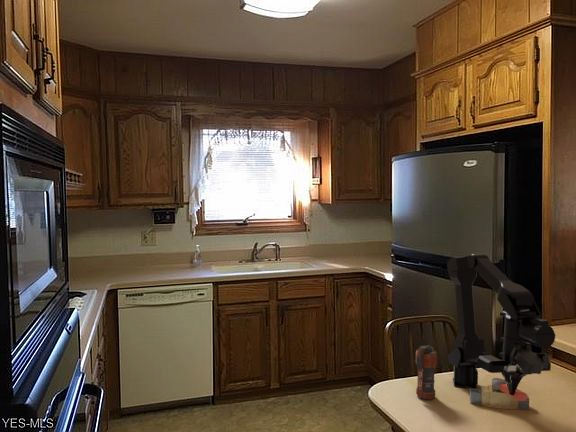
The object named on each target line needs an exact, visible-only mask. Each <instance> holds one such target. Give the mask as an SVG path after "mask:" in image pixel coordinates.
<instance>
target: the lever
mask: <svg viewBox="0 0 576 432" xmlns="http://www.w3.org/2000/svg"><path fill="white" fill-rule="evenodd" d="M491 385H492V388H493V389H495V390H499V391H502V392H504V393H506V394H508V395H509V396H511V397H513V398H515V399H517V400H519V401H526V400H527V395H528V393H526V392H524V391H522V390H520V389H519V388H517V389H516V391H515V393H514V395H510V394H509V390H508V387H507V385H506V382H505V380H504V378H500V377H494V378H492V379H491Z"/></svg>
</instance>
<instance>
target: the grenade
mask: <svg viewBox="0 0 576 432" xmlns="http://www.w3.org/2000/svg"><path fill="white" fill-rule="evenodd" d="M437 363H438V353H437V351H436V350H435V349H434V347H433V346H431V345H421V346H419V347H418V348H417V349H416V351H415V365H416V370H417V378H416V379H417V387H416V388H415V389H416V390H415V394H416V395H417V397H418V398H419V399H421V400H426V401H428V400H429V401H430V400H433V399H434V398H435V396H436V390H435V369H436V366H438V365H437Z"/></svg>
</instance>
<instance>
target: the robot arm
mask: <svg viewBox="0 0 576 432" xmlns="http://www.w3.org/2000/svg"><path fill="white" fill-rule="evenodd" d="M446 267H447V271H448V277H449V279H450V280H451V282H452V283H453V285H454V287H455V289H454V290H455V300H456V312H457V325H458V326H457V327H458V333H457V335H456V337H455V339H454V341H453V350H452V351H451V352H449V354H448V356H447V358H448V360H447V361H448V363H449V364H450V365H451V366H453V377H452V381H453V382H452V383H453V386H454V387H460V388H469V389H470V388H474V389H478V388H477V385H478V384H479V383H478V382H479V370H478V368H477V367H479V368H481V369H482V370H484V371H486V372H487V373H492V374H495V373H496V374H497V373H499V374H500V373H501V375H502V377H503V379H504V380H505V382H506V385H507V387H508V390H509V394H510V395H514V393H515V391H516V389H518V386H519V385H520V382H521V380H522V379H523V378H524V377H526V376H528V375H532V374H533V375H534V374H537V375H541V374H542V372H548V371H551V369H552V368H551V367H552V364H551V361H550V356H549V354H547V353H546V352H540V353H538V352H534V351H533V349H532V345H534V346H535V347H538V348H540V349H544V350H545V349H549V348H550V347H552V346H553V344H554V343H555V341H556V333H555V329H554V328H552V326H551V325H549V320H548V319H542V318H543V316H542V314H541V310H540V309H539V307H538V304H537V302H536V300H535V298H534V295H533V293H532V292H531V291H530V290H529V289H527V288H525V287H524V286H523V285H521V284H518V283H515V282H513V281H512V280H511V279H509V278H508V276H507V275H505V274H504V273H503V272H502V270H500V269H499V268H498V266H496V265H495V263H493V262H492V261H491V260H490V258H489V256H488V255H487V254H485V253H472V254H470V255H467V256H452V257H450V259H449V260H448V261H447V263H446ZM477 274H478V275H479V276H480V277H481V278H482V279H483V280H484V281H485V282H486V283H487V284H488V285H489V286H490V287H491V289H493V291H494V292H495V293H496V300H497V301H498V303H499V304H500V306H501V308H502V309H503V311H501V312H500V313H499V316H500V317H503V318H504V328H503V331H504V332H503V337H500V339H499V341H500V342H501V343H503V344H502V352H499V354H498V356H499V357H500V358H501V359H500V358H497V357H496V356H494V355H491V354H490V355H485V353H486V349H485V341H484V339H483V338H480V336H479V335H478V334H477V330H476V318H475V317H476V316H475V306H474V303H475V302H474V292H473V284H474V282H475V280H476V278H477Z"/></svg>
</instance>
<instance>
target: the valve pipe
mask: <svg viewBox="0 0 576 432" xmlns="http://www.w3.org/2000/svg"><path fill="white" fill-rule="evenodd" d="M469 402H470V404H474V405H481V406H486V407H489V408H494V409H495V408H496V409H502V410H503V409H504V410H511V409H512V410H526V409H527V410H528V411H529V410H530V397H529V394H527V400H526V401H519V400H517V399H515V398H513V397H511V396H509V395H508V394H506V393H504V392H502V391H499V390H495V389H493V388H492V384H487V385H486V386H485V385H480V388H469ZM527 410H526V411H527Z"/></svg>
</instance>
